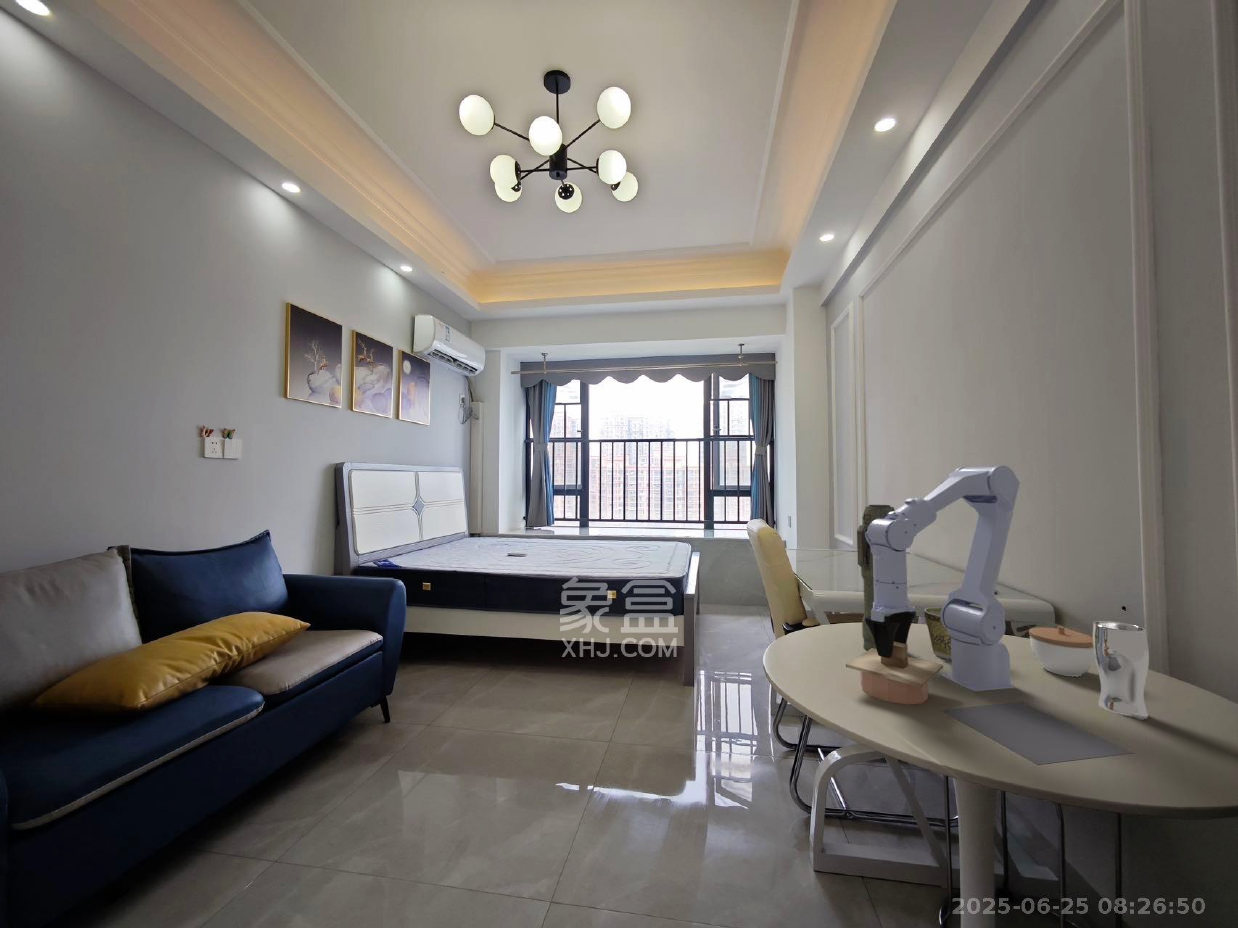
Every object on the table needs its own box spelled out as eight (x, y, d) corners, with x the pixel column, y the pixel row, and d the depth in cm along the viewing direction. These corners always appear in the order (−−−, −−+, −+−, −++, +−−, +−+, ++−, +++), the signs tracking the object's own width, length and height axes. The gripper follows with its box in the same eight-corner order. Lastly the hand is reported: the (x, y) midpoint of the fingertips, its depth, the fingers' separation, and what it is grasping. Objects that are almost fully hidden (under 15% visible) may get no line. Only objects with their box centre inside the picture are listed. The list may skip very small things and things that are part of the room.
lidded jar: (1112, 682, 98) (1110, 635, 99) (1053, 679, 100) (1051, 633, 100) (1071, 663, 109) (1070, 620, 109) (1018, 660, 110) (1017, 618, 111)
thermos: (849, 646, 120) (846, 504, 122) (886, 641, 124) (882, 503, 126) (879, 659, 112) (875, 506, 113) (917, 652, 116) (913, 505, 117)
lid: (943, 667, 94) (942, 643, 94) (922, 687, 85) (921, 660, 85) (871, 650, 103) (871, 628, 103) (845, 667, 94) (845, 643, 95)
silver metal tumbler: (1142, 725, 81) (1138, 634, 82) (1087, 708, 87) (1084, 623, 88) (1158, 715, 85) (1154, 627, 85) (1104, 699, 91) (1100, 618, 91)
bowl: (897, 679, 100) (897, 655, 101) (941, 703, 90) (940, 675, 90) (849, 683, 99) (848, 658, 99) (887, 708, 88) (887, 680, 88)
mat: (1022, 704, 89) (1022, 701, 89) (1134, 755, 72) (1134, 752, 72) (940, 712, 86) (940, 709, 86) (1037, 768, 69) (1037, 764, 69)
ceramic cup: (958, 666, 108) (957, 620, 108) (915, 651, 117) (914, 609, 117) (994, 657, 113) (993, 613, 113) (950, 644, 122) (949, 603, 122)
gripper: (899, 589, 87) (901, 667, 87) (925, 578, 97) (927, 647, 96) (858, 584, 92) (860, 656, 92) (886, 573, 102) (888, 639, 102)
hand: (892, 651), depth 94 cm, fingers open, 7 cm apart
